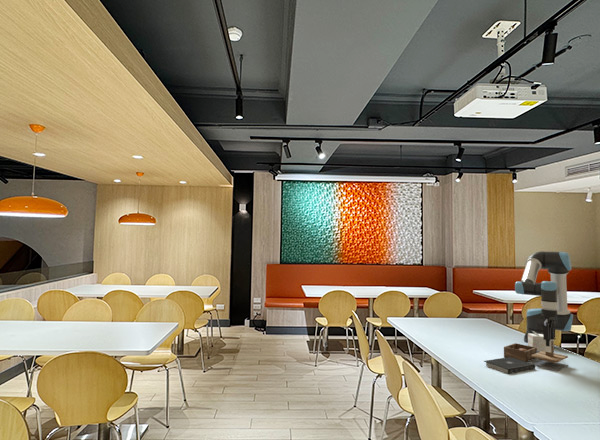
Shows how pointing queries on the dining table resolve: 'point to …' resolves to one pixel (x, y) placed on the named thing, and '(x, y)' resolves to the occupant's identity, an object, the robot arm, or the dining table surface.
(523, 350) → the crate
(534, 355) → the lid
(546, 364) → the mat
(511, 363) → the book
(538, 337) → the ink box
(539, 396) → the dining table surface
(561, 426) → the dining table surface
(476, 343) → the dining table surface
